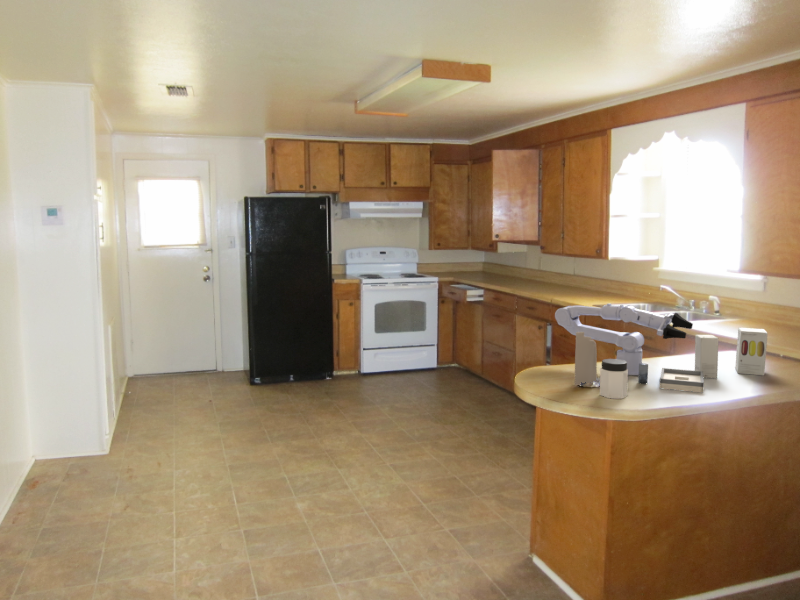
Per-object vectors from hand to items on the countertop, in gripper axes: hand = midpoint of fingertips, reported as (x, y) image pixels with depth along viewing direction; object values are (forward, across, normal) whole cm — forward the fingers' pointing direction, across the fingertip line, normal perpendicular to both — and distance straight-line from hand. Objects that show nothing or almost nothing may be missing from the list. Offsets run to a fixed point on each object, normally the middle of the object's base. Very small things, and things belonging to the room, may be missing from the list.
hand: (688, 331), depth 233 cm
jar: (-11, -41, +8) cm, 43 cm away
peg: (-8, -19, +15) cm, 26 cm away
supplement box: (+20, +22, +24) cm, 38 cm away
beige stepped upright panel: (-21, -32, +14) cm, 41 cm away
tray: (+4, -13, +15) cm, 20 cm away
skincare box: (+8, +5, +20) cm, 22 cm away
